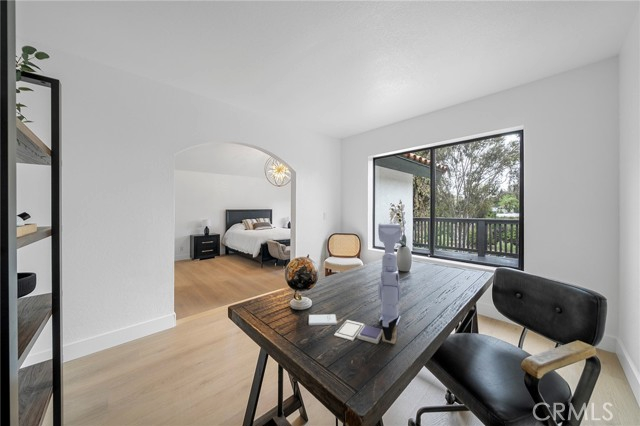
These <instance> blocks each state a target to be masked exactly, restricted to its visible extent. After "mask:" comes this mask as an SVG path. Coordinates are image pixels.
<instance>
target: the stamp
mask: <svg viewBox="0 0 640 426" xmlns="http://www.w3.org/2000/svg"><path fill="white" fill-rule="evenodd" d="M397 329H398V328H397V326H395V327H394V329H393V333H392V339H391V341H388V340H385V337H384V332H383V334H382V343H386V344H389V345H394V346H395V344H396V342H397V340H398V339H397V338H398V337H397V335H398V334H397V331H398V330H397Z"/></svg>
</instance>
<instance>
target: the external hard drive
mask: <svg viewBox="0 0 640 426" xmlns="http://www.w3.org/2000/svg"><path fill="white" fill-rule="evenodd" d="M332 325H333V326H334V325H338V320H337V316H336V314H332V313H331V314H308V326H332Z"/></svg>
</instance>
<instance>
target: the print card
mask: <svg viewBox="0 0 640 426" xmlns="http://www.w3.org/2000/svg"><path fill="white" fill-rule="evenodd" d="M364 325H365V323H362V322H358V321H354V320H349V319H346V321H344V323H343V324H341V326H340V327H339V328H338V329H337V330H336V331H335V333H334V334H333V336H334V337H338V338H341V339H345V340H347V341H348V340H349V341H352V342H354V340H355V338H356V337H357V335H358V334H359V332H360V331H361V329H362V328H363V327H364Z"/></svg>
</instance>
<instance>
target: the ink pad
mask: <svg viewBox="0 0 640 426" xmlns="http://www.w3.org/2000/svg"><path fill="white" fill-rule="evenodd" d="M356 337H357V338H356V339H359V340H362V341H366V342H369V343H373V344H377V345H378V344H379V342H380V340H381V338H382V337H383V329H382V328H378V327H375V326H370V325H366V324H364V326H363V327H362V328H361V330H360V331H359V333H358V334H357V336H356Z"/></svg>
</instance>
